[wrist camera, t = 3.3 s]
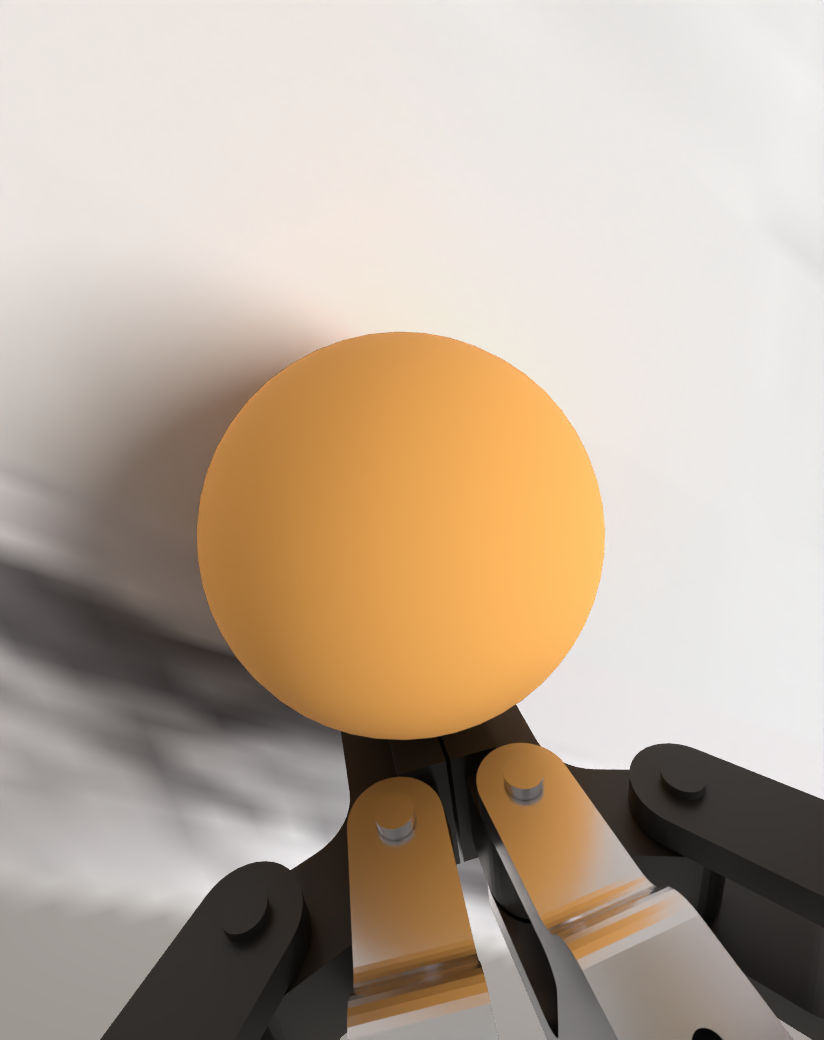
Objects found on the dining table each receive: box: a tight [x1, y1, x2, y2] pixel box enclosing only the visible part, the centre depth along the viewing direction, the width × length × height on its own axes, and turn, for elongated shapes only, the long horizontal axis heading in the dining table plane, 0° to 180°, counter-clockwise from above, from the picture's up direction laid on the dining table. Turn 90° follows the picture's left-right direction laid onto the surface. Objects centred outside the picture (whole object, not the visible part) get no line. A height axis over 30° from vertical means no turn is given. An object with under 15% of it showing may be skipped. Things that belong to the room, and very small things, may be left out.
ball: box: [197, 332, 605, 740], centre depth 8 cm, size 6×6×6 cm
